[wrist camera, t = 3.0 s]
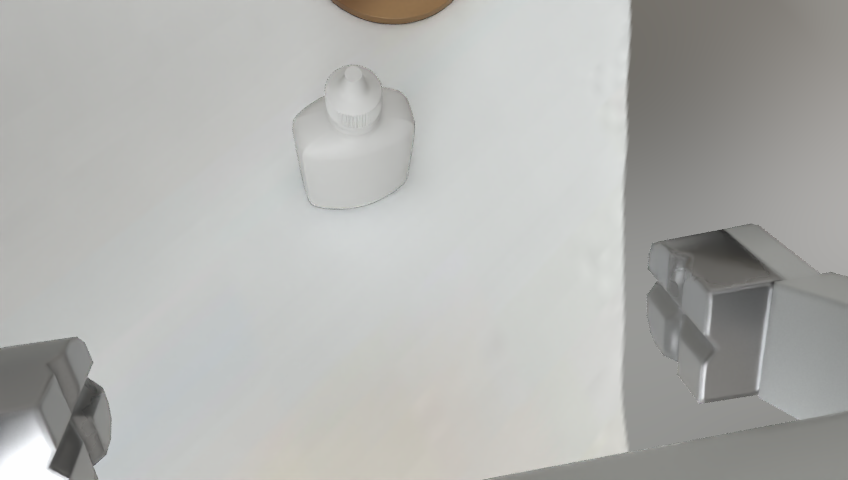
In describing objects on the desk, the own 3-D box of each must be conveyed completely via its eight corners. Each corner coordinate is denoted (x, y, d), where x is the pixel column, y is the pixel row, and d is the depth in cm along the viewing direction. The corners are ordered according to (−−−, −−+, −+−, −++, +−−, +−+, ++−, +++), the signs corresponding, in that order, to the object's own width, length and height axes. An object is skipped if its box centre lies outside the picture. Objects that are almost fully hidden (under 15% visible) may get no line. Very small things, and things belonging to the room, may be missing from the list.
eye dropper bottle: (314, 132, 42) (298, 11, 30) (412, 154, 42) (433, 42, 30) (295, 204, 40) (269, 106, 29) (395, 226, 41) (410, 139, 29)
